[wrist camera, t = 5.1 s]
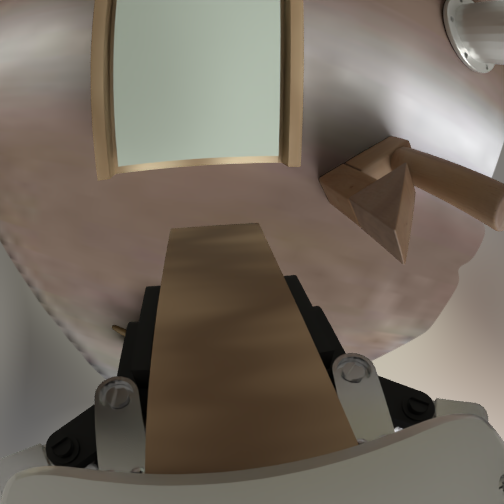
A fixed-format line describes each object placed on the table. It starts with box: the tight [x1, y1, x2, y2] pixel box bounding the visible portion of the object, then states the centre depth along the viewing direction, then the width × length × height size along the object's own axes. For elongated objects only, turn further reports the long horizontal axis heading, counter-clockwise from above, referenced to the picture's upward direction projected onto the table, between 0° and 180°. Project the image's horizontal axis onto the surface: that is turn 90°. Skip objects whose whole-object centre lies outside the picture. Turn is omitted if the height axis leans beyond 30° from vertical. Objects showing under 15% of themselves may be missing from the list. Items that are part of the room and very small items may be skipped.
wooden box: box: [91, 0, 304, 181], centre depth 18 cm, size 14×22×10 cm, turn 0°
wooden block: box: [319, 136, 504, 264], centre depth 23 cm, size 4×11×18 cm, turn 121°
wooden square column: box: [145, 223, 359, 474], centre depth 9 cm, size 5×5×12 cm
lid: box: [113, 0, 280, 167], centre depth 14 cm, size 11×21×3 cm, turn 0°
